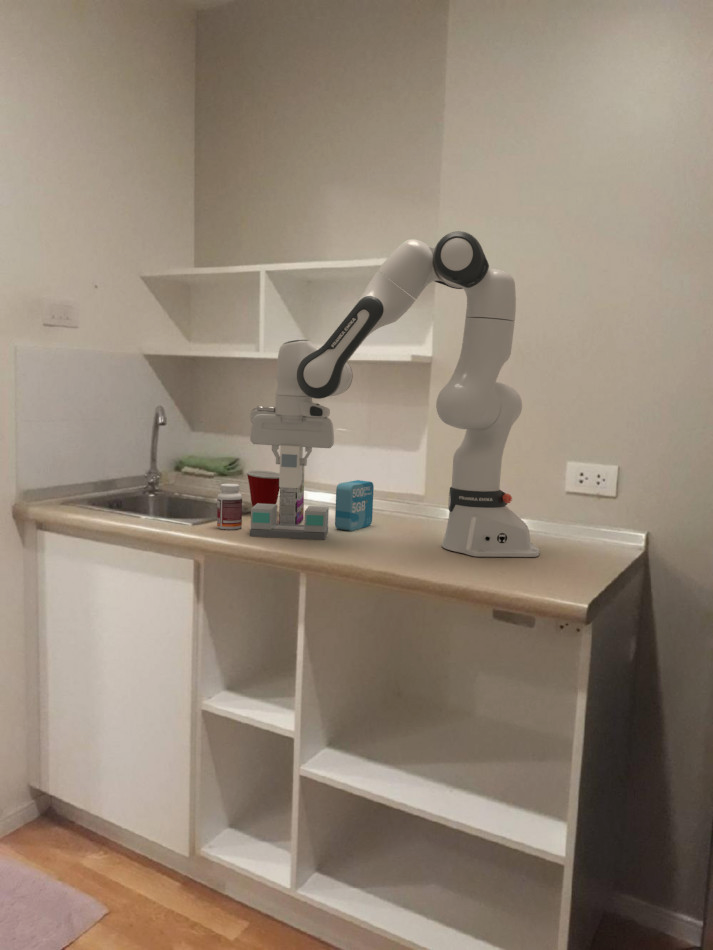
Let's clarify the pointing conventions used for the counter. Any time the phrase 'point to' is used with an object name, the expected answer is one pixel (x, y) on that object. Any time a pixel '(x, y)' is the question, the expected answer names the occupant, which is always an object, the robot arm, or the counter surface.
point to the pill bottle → (229, 507)
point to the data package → (354, 505)
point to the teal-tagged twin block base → (268, 527)
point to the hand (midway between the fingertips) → (291, 464)
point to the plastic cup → (263, 486)
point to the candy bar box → (292, 504)
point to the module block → (290, 466)
